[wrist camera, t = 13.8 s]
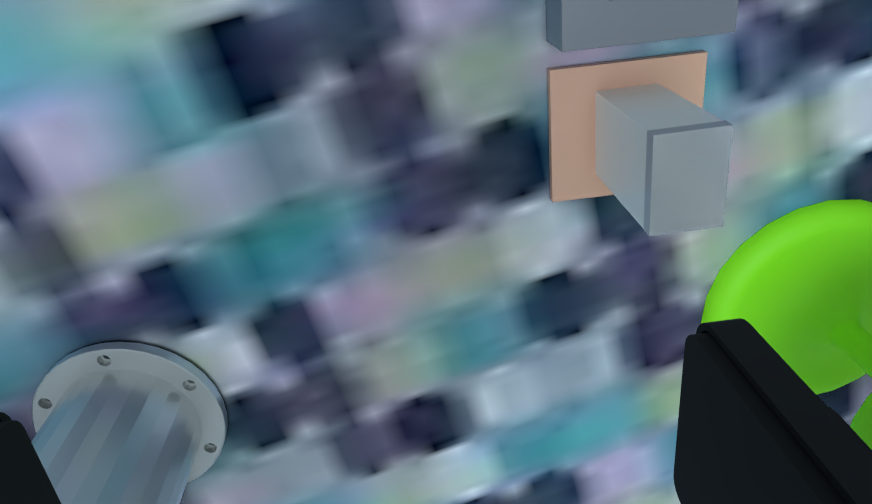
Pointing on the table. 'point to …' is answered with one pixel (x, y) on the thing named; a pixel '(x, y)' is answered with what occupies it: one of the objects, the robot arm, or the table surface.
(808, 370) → the wineglass
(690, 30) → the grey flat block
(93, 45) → the table surface
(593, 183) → the mat
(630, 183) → the plug
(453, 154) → the table surface
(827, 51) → the table surface
